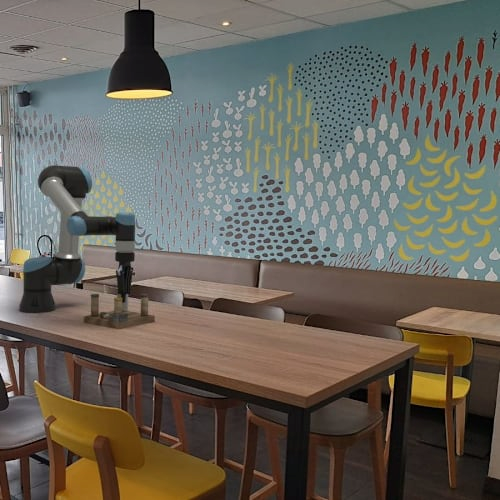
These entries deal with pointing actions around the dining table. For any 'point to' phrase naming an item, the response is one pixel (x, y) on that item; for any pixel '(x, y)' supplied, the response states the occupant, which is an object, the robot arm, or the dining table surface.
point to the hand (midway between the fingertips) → (124, 310)
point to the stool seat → (119, 315)
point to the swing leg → (116, 308)
